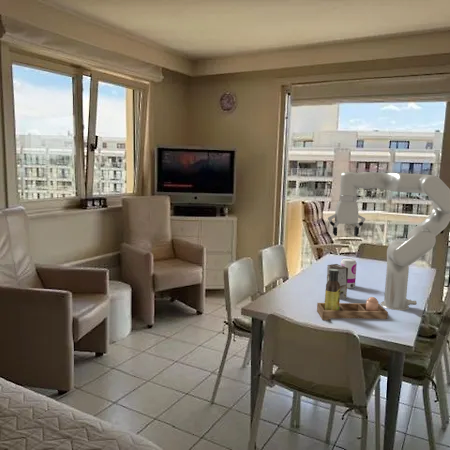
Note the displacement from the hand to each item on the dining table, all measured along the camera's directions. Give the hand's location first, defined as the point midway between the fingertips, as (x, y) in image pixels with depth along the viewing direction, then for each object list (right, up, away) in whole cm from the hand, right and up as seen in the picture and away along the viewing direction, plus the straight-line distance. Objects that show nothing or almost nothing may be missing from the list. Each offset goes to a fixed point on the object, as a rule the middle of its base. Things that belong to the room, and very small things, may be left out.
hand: (345, 235), depth 202 cm
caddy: (-1, -35, -11) cm, 37 cm away
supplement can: (+10, -29, +34) cm, 46 cm away
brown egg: (+9, -35, -11) cm, 37 cm away
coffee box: (-1, -32, +15) cm, 35 cm away
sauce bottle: (-9, -34, -11) cm, 37 cm away
